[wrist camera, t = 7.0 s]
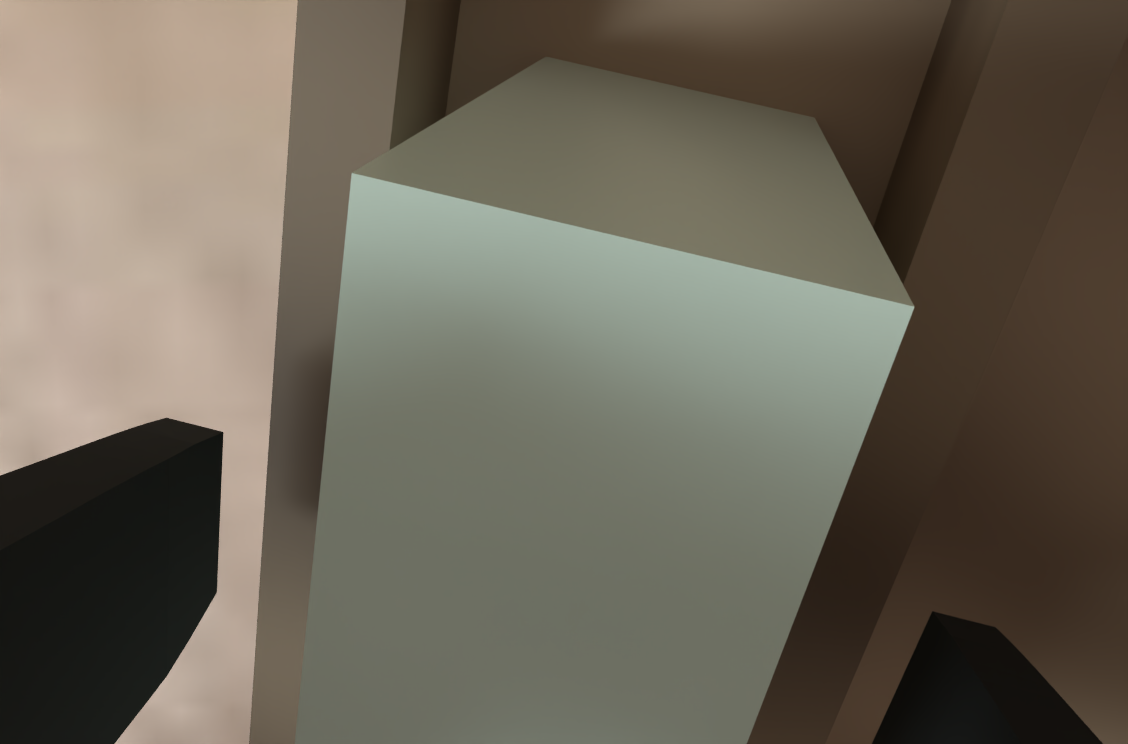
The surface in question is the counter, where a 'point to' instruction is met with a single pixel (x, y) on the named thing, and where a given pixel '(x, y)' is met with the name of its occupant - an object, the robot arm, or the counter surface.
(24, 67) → the counter surface
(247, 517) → the counter surface
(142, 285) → the counter surface
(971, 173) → the rack
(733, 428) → the pale green block
